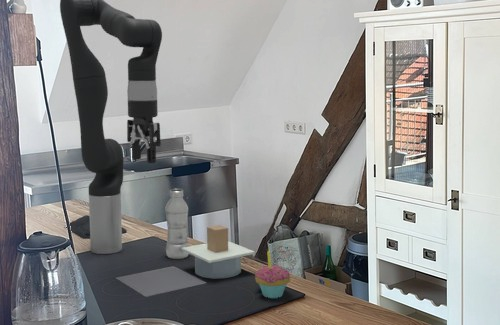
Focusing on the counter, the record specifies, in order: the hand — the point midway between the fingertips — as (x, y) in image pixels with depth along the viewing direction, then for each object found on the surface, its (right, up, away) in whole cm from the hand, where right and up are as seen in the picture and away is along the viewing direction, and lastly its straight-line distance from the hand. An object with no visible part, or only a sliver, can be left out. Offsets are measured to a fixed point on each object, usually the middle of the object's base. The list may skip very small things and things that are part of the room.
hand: (143, 161), depth 170 cm
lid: (+19, -24, +3) cm, 31 cm away
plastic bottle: (+7, -28, +17) cm, 34 cm away
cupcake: (+33, -33, -12) cm, 48 cm away
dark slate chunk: (-25, -24, +50) cm, 60 cm away
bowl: (+19, -30, +4) cm, 36 cm away
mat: (+5, -31, -4) cm, 32 cm away
